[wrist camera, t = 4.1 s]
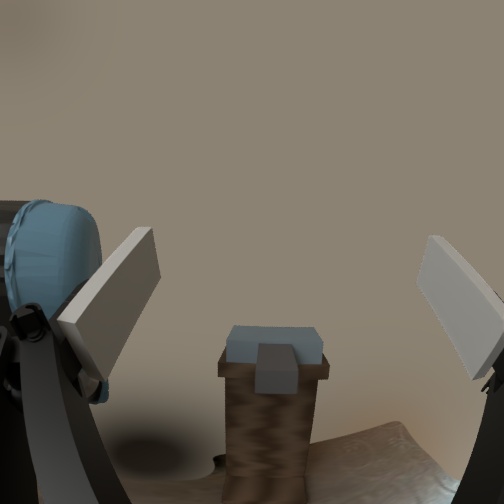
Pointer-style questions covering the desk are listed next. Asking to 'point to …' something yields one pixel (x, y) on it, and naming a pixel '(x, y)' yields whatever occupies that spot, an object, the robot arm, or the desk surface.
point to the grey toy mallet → (274, 354)
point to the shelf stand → (267, 435)
